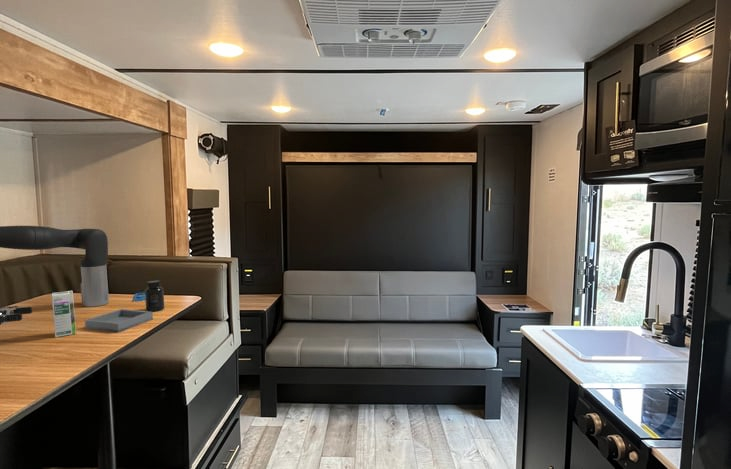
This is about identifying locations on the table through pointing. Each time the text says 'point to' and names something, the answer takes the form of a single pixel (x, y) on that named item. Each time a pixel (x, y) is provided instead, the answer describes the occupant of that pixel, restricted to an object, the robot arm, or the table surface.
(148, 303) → the supplement bottle
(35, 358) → the table surface
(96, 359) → the table surface
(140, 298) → the handheld gaming device
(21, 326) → the table surface
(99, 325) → the tray
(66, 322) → the syrup box
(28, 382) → the table surface
